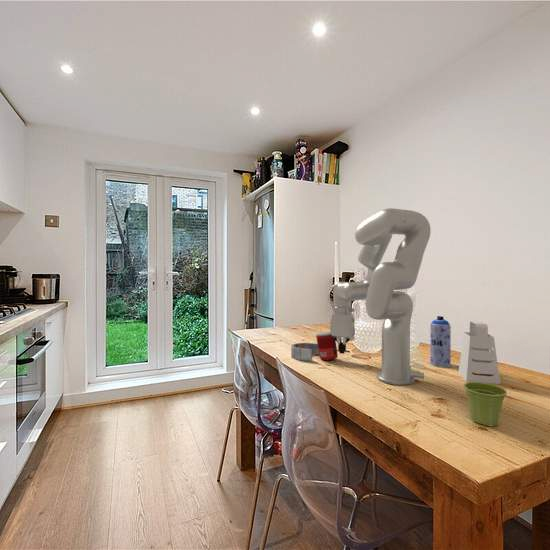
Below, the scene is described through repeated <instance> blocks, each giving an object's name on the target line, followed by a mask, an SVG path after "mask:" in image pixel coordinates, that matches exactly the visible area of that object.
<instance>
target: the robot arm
mask: <svg viewBox="0 0 550 550" xmlns="http://www.w3.org/2000/svg"><path fill="white" fill-rule="evenodd" d="M431 229H432V228H431V225H430V222H429V219H428V218H427V217H426V216H425V215H423V214H422V213H420V212H418V211H415V210H410V209H402V208H395V207H394V208H391V207H390V208H384V209H382V210H381V211H378V212H376V213H375V214H373V215H371V216H370V217H368V218H367V219H365V220H364V221H363V220H362V222H361V223H360V224H359V225H358V226H357V228H356V229H355V232H354V238H355V240H356V242H357V243H358V244H359V245H360V246H361V245H362V247H361V249H360V252H359V253H358V256H357V260H358V262H359V263H360V264H361V265H362V266H364V267H365V268H367V273H366V276H365V278H364V280H363V281H353V282H351V281H350V282H349V281H336V282H334V283H333V301H332V302H333V307H332V308H333V311H332V313H331V316H330V323H329V324H330V325H329V332H330V333H331V335H332V336H334V339H335V341H336V344H338V346H337V347H338V348H337V352H339V354H342V355H343V354H344V353H345V352H347V343H348V342H353V341H355V340H356V339H355V335H356V327H355V317H354V316H355V315H354V314H353V313H354V312H355V308H352V302H353V301H356V302H357V301H365V310H366V314H367V315H368V317H370V318H371V319H373V320H377V321H382V320H383V323H382V327H381V371H379V372H377V375H376V377H377V379H378V380H379V381H380V382H382V383H385V384H390V385H395V386H397V385H398V386H405V385H406V386H407V385H412V384H413V383H415V379H416V378H418V379H424V378H425V375H424V374H425V373H424V372H421V371H420V370H414V369H412V366H411V321H412V315H413V310H414V302H413V299H412V298H411V296H410V295H409V294H408V293H406V292H404V291H402V290H407V289H412V287H414V286H415V284H416V281H417V279H418V275H419V271H420V269H421V265H422V263H423V257H424V254H425V251H426V249H427V246H428V244H429V241H430V238H431V233H432V232H431ZM393 235H399V236H401V235H402V236H404V239H403V240H402V241H401V242H400V243H399V245H398V247H397V249H396V253H395V256H394V260H393V261H387V262H386V261H384V262H382V263H381V261H382V259H383V257H384V255H385V253H386V251H387V249H388V246H389V244H390V242H391V241H392V237H393ZM400 290H401V291H400ZM342 338H343V340H342Z"/></svg>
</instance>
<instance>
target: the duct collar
mask: <svg viewBox="0 0 550 550" xmlns="http://www.w3.org/2000/svg"><path fill="white" fill-rule="evenodd" d="M290 347H291V352H290V353H291V354H290V355H291V358H292V359H294V360H298V361H305V362H313V356H319V350H318V344H317V343H314V342H296V343H293V344H291V346H290ZM312 354H314V355H312Z"/></svg>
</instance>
